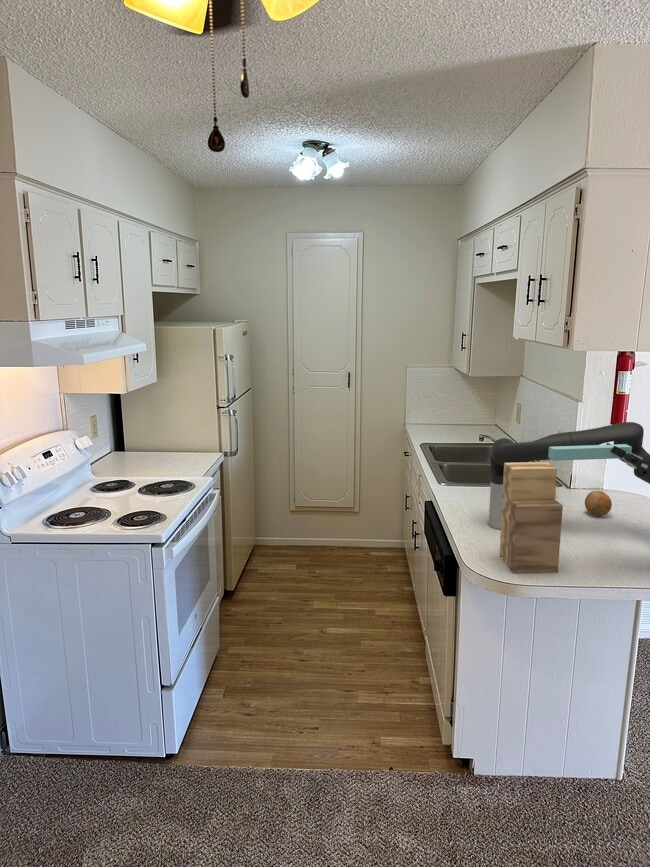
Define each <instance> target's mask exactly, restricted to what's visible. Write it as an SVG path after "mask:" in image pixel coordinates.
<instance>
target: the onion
mask: <svg viewBox="0 0 650 867" xmlns="http://www.w3.org/2000/svg"><path fill="white" fill-rule="evenodd" d="M584 506H585V509H586V511H587V512H589V514H591V515H592V516H595V515H596V517H602V516H606V515H607V514H608V513H610V511H611V510H612V507H613V504H612V499H611V498H610V496H609V495H608V494H607V493H606V492H604V491H602V490H593V491H590V492H588V494H587V495H586V496H585V498H584Z"/></svg>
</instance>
